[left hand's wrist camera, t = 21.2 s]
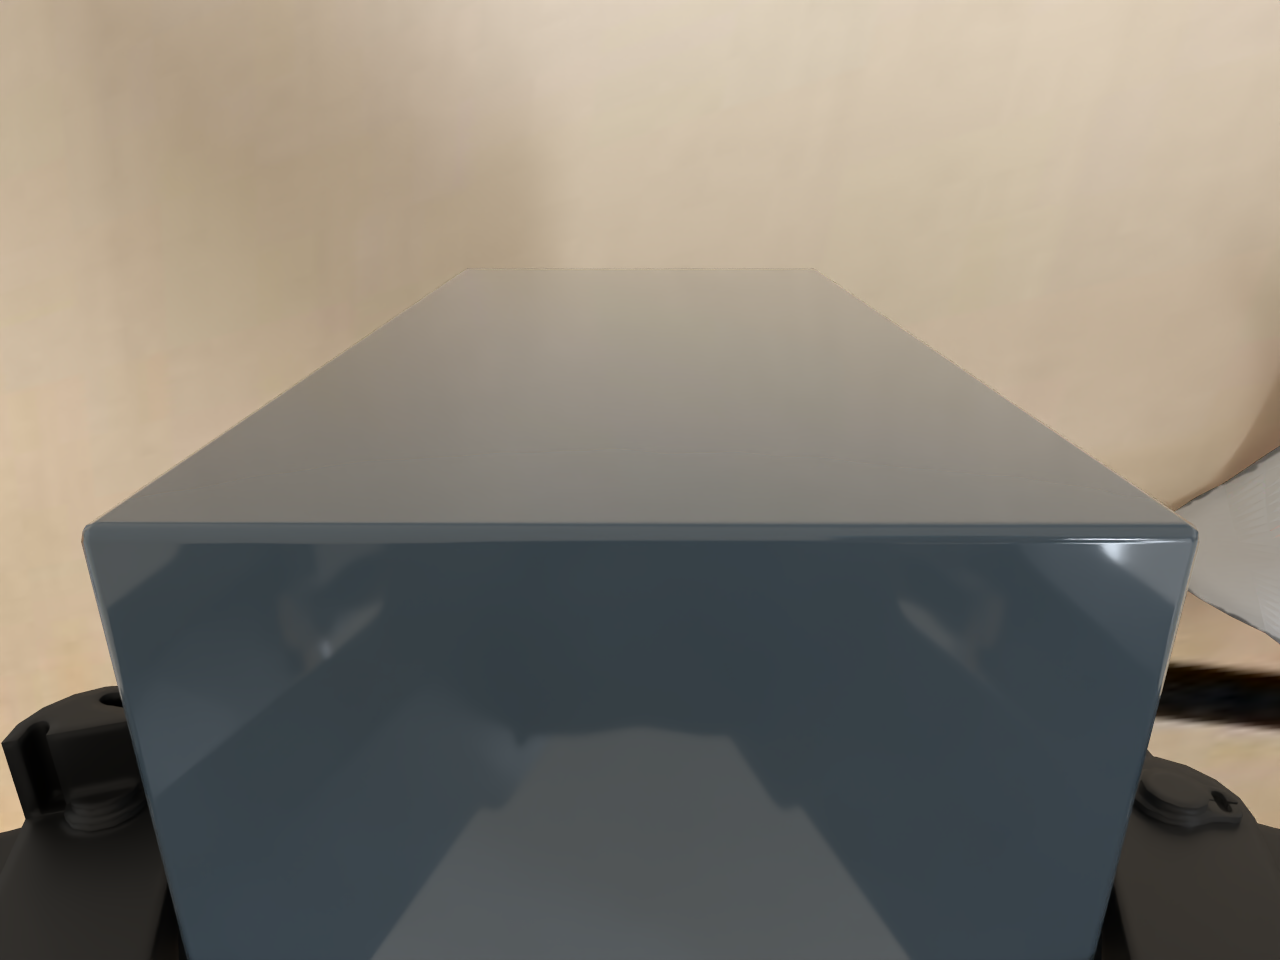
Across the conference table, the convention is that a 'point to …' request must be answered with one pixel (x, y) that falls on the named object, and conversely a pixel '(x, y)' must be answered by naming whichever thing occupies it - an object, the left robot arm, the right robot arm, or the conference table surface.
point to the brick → (640, 641)
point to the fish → (1240, 545)
